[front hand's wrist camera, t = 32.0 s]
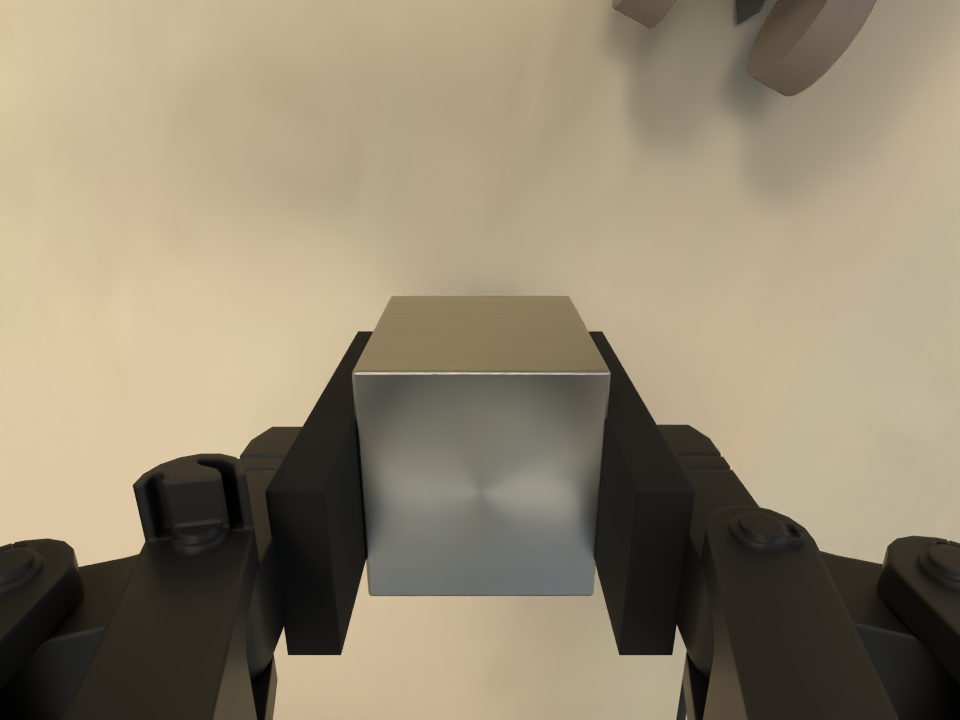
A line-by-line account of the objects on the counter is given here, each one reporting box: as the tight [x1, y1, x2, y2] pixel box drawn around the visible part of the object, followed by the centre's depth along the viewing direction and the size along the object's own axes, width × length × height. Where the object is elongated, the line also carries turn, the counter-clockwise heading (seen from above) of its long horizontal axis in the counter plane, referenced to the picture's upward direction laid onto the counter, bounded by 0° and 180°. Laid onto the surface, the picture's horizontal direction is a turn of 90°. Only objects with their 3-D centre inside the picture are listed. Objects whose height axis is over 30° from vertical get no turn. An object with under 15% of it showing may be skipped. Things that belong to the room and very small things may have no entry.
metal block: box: [352, 296, 611, 596], centre depth 13 cm, size 4×4×5 cm
